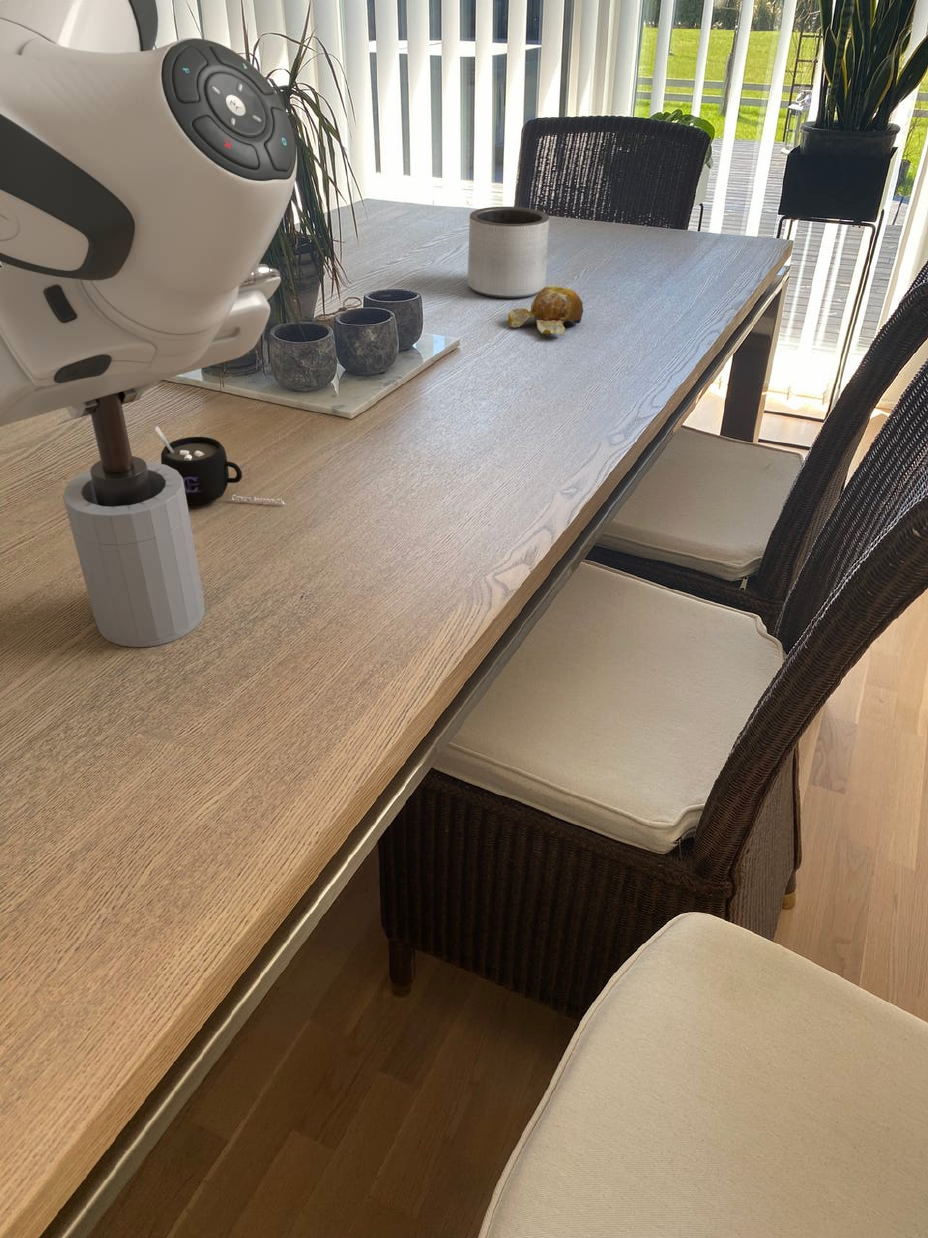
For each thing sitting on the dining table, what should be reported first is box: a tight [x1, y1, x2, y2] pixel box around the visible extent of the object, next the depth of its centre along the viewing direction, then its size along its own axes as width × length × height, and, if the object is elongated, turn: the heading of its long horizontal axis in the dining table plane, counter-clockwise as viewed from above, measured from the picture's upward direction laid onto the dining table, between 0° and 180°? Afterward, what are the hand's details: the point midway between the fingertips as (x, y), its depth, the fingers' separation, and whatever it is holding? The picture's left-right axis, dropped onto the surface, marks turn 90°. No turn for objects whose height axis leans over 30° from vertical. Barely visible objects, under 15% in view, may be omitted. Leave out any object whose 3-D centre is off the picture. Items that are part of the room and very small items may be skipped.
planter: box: [467, 206, 550, 299], centre depth 150 cm, size 12×12×11 cm
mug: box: [154, 425, 285, 505], centre depth 92 cm, size 12×6×8 cm, turn 83°
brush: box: [89, 392, 153, 507], centre depth 68 cm, size 4×4×16 cm
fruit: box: [507, 286, 584, 336], centre depth 137 cm, size 11×11×5 cm
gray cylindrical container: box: [62, 461, 206, 648], centre depth 75 cm, size 9×9×12 cm
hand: (100, 400), depth 68 cm, fingers closed on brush, 2 cm apart
